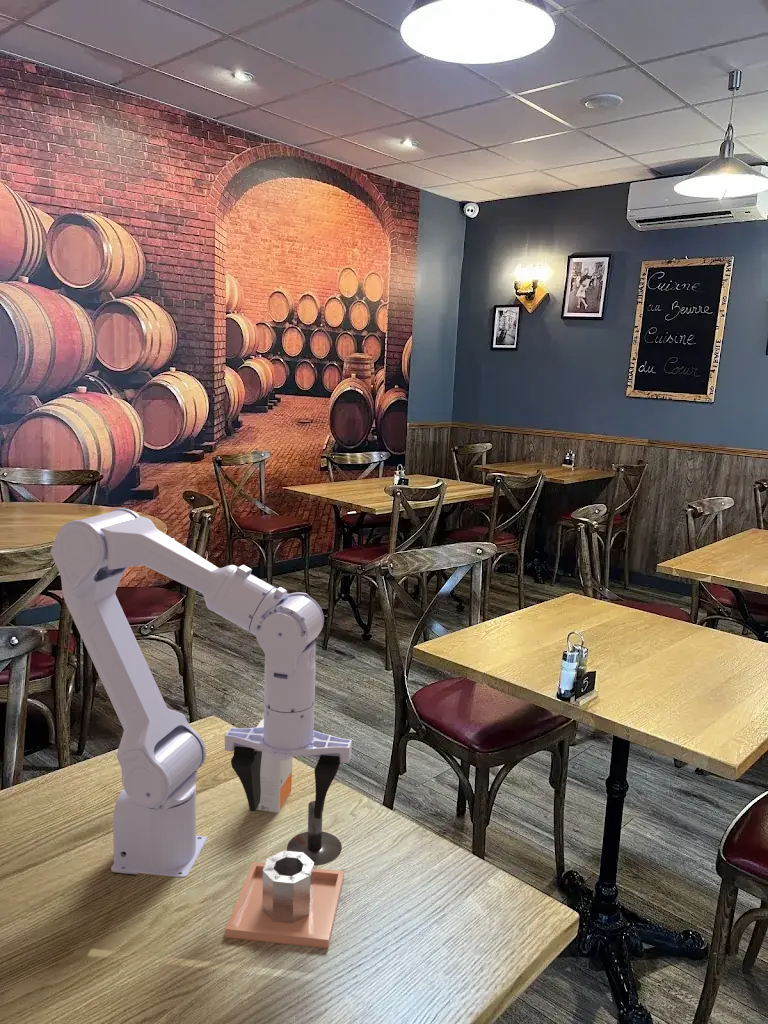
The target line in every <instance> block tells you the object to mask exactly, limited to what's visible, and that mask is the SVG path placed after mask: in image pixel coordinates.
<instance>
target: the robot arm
mask: <svg viewBox="0 0 768 1024" xmlns="http://www.w3.org/2000/svg"><path fill="white" fill-rule="evenodd" d="M52 544H53V545H52V547H51V549H50V550H49V551H50V554H51V556H52V559H53V561H54V563H55V566H56V568H57V570H58V572H59V574H60V580H61V582H60V583H61V590H62V592H61V593H62V596H63V599H64V603H65V605H66V606H67V609H68V611H69V614H70V615H71V618H72V620H73V622H74V625H75V626H76V628H77V630H78V633H79V635H80V637H81V639H82V642H83V643H84V647H85V648H86V650H87V653H88V655H89V657H90V658H91V659H90V660H91V661H92V663H93V665H94V667H95V669H96V673H98V676H99V679H100V680H101V683H102V685H103V687H104V690H105V691H106V693H107V696H108V699H110V703H111V705H112V706H113V708H114V711H115V713H116V715H117V718H118V720H119V721H120V724H121V726H122V728H123V732H122V737H121V739H120V743H119V745H118V749H117V752H116V759H117V761H118V763H119V766H120V769H121V782H122V787H123V789H122V790H121V791H120V793H119V795H118V796H117V797H118V798H117V799H116V802H115V805H114V810H113V817H112V832H113V833H112V836H113V837H112V838H113V839H112V840H113V843H112V845H113V864H112V866H111V867H110V869H111V872H112V873H116V874H117V873H119V874H130V875H138V874H145V875H153V876H155V875H156V876H164V877H165V876H166V877H173V878H174V877H175V878H183V879H184V878H186V877H188V876H189V874H190V872H191V871H192V868H193V867H194V865H195V863H196V861H197V859H198V857H199V856H200V853H201V852H202V850H203V848H204V846H205V844H206V842H207V841H208V837H207V836H204V835H197V779H198V777H197V776H198V774H197V773H198V770H199V769H200V768H201V767H203V764H204V763H205V761H206V757H207V749H206V744H205V742H204V739H203V737H202V736H201V735H200V734H199V733H198V732H197V731H196V730H194V728H193V727H192V726H191V725H190V723H189V721H188V720H187V718H186V716H185V714H183V713H182V712H179V711H176V710H174V709H170V708H168V706H167V704H166V702H165V700H164V698H163V696H162V693H161V692H160V689H159V687H158V684H157V682H156V681H155V678H154V676H153V673H152V671H151V669H150V667H149V665H148V662H147V661H146V658H145V656H144V654H143V652H142V649H141V647H140V645H139V643H138V641H137V638H136V636H135V634H134V632H133V630H132V627H131V625H130V623H129V621H128V619H127V617H126V614H125V613H124V610H123V607H122V605H121V604H120V602H119V599H118V597H117V595H116V591H117V589H118V587H119V585H120V583H121V580H122V578H123V576H124V573H125V572H126V571H127V569H128V568H129V567H138V566H143V567H147V568H148V569H150V570H153V571H155V572H157V573H159V574H161V575H163V576H165V577H167V578H169V579H171V580H174V581H175V582H178V583H180V584H181V585H184V586H186V587H188V588H190V589H192V590H194V591H197V592H199V593H200V594H202V596H203V599H204V602H205V606H206V608H207V609H208V610H209V611H211V612H214V613H215V614H216V615H218V616H220V617H222V618H224V619H226V620H227V621H228V622H229V621H230V622H231V623H233V624H235V625H236V626H238V627H239V628H242V629H243V630H245V631H247V632H249V633H250V634H252V635H254V636H255V637H256V642H257V643H258V645H259V647H260V648H261V649H262V650H261V651H263V653H264V682H263V683H264V689H263V691H264V692H263V705H264V706H263V718H264V727H257V726H255V727H242V728H241V727H239V728H238V727H230V728H229V729H228V730H227V732H226V734H225V735H224V751H225V752H233V755H232V757H231V759H230V761H231V762H230V764H231V768H232V769H233V771H234V772H235V774H236V775H237V777H238V779H239V781H240V783H241V785H242V787H243V790H244V792H245V796H246V799H247V804H248V808H249V809H248V810H249V812H257V807H258V805H259V803H260V796H261V784H260V770H261V758H262V752H266V753H269V754H272V759H275V760H289V759H290V758H291V757H304V756H305V757H312V758H313V757H314V758H319V759H318V761H317V763H316V765H315V768H314V782H315V799H314V801H315V807H314V818H317V819H320V818H321V815H322V816H323V812H324V807H325V801H326V796H327V794H328V793H327V792H328V791H329V789H330V786H331V785H332V783H333V781H334V779H335V778H336V775H337V773H338V771H339V768H340V765H341V763H343V764H344V763H345V764H349V763H350V760H351V757H352V749H353V748H352V746H353V740H352V739H351V738H350V739H348V738H343V737H342V738H341V737H338V736H334V735H331V734H327V733H324V732H320V731H318V730H315V729H314V728H315V726H314V724H315V721H314V719H315V701H316V700H315V698H316V697H315V696H316V695H315V694H316V669H317V667H316V666H317V665H316V652H317V642H316V641H314V640H315V639H316V638H317V637H318V636H319V635H320V634H321V631H322V630H323V627H324V623H325V615H324V612H323V610H322V607H321V605H320V604H319V603H318V602H317V601H316V600H315V599H314V598H312V597H311V596H310V595H309V594H308V593H306V592H299V591H298V592H292V593H288V590H287V589H285V588H284V587H281V586H279V587H278V588H277V587H275V586H273V585H272V584H270V583H268V582H266V581H264V580H263V579H260V578H258V577H257V576H255V575H254V574H252V571H253V569H252V568H250V567H248V566H246V564H242V565H239V566H237V565H235V564H229V565H226V566H224V567H218V566H216V565H214V564H213V563H212V562H210V561H208V560H207V559H206V558H204V557H202V556H201V555H199V554H198V553H195V552H194V551H193V550H191V549H190V548H188V547H186V546H185V545H183V544H182V543H180V542H179V541H177V540H175V539H174V538H172V537H171V536H169V535H168V534H166V533H164V532H163V531H161V530H159V529H158V528H157V527H156V525H155V524H154V522H153V521H152V520H151V519H150V518H148V517H145V516H143V515H141V516H140V514H138V513H137V512H136V511H133V510H132V509H130V508H125V507H121V508H115V509H113V510H110V511H109V512H105V513H102V514H98V515H95V516H91V517H86V518H83V519H74V520H70V521H68V522H66V523H65V524H63V525H62V526H61V527H60V529H59V530H58V532H57V535H56V537H55V539H54V541H53V543H52Z"/></svg>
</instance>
